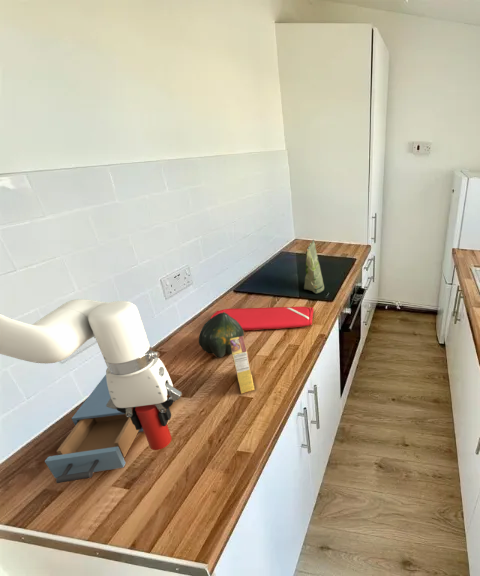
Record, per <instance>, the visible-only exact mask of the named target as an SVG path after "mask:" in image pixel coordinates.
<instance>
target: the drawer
mask: <svg viewBox="0 0 480 576" xmlns="http://www.w3.org/2000/svg"><path fill="white" fill-rule="evenodd" d="M138 431H139V430H136V428H135V425H133V423H132V421H131V418H130V417H127V416H126V414H121V415H113V416H105V417H97V418H89V419H81V420H79V422H78V423H77V424H76V426H75V425H74V427H73V428H72V429H71V431H70V432H69V434H68V435H67V436H66V438H64V440H63V442H62V443H61V445H60V446H59V447H58V448H57V449H56V453H57V454H56V455H50V456H48V457H47V458H46V459H45V460H44V463H45V464H46V466H47V468H48V469H49V471H50V473H51V474H52V476H53V477H54V479H55V483H56V484H63V483H68V482H69V483H70V482H75V481H82V480H87V479H91V478H92V477H93V476H94V473H97V472H104V471H110V470H111V471H112V470H118V469H122V468H125V465H126V460H125V457H126V456H127V455H128V453H129V450H130V448H131V446H132V445H133V444H134V443H133V442H134V441H135V439H136V437H137V435H138V433H139V432H138Z"/></svg>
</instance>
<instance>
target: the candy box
mask: <svg viewBox="0 0 480 576" xmlns="http://www.w3.org/2000/svg"><path fill="white" fill-rule="evenodd" d="M230 345H231V351H232V354H231V355H232V360H233V366H234V370H235V373H236V378H237V382H238V386H239V387H238V388H239V389H240V390H239V391H240V394H241V395H242V394H245V393H248V392H251V391H255V385H254V379H253V375H252V370H251V365H250V359H249V354H248V349H247V346H246V343H245V339H244V338H243V336H240V337H236V338H231V339H230Z"/></svg>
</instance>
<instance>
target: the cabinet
mask: <svg viewBox="0 0 480 576" xmlns="http://www.w3.org/2000/svg"><path fill="white" fill-rule="evenodd" d="M110 398H111V396H110V394H109V390H108V386H107V379H106V374H105V375H104V376H103V377H102V378H101V380H100V381H99V382H98V384H97V385H96V386H95V388H93V390H92V392H90V394H89V395H88V396H87V397H86V399H85V401H83V403H82V404H81V405H80V407H79V408H78V409H77V410H76V412H75V413H74V415H73V416H72V417H71V420H72V422H73V425H74V427H75V426H76V424H77V423H78V422H79V420H81V419H89V418H97V417H105V416H113V415H121V414H125V413H122V412H120V411H118V410H117V409H112V408H109V407H107V406H106V405H107V403H108V401H109V400H110ZM142 432H144V431H143V428H142V427H141V429H140V430H139V431H138V433H142Z"/></svg>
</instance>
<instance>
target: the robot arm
mask: <svg viewBox="0 0 480 576" xmlns="http://www.w3.org/2000/svg"><path fill="white" fill-rule="evenodd" d="M144 326H145V325H144V324H143V321H142V317H141V315H140V311H139V309H138V306H137V305H136V304H134V303H133V302H131V301H128V300H116V301H110V302H107V301H102V300H101V301H100V300H93V299H87V298H76V299H71V300H69V301H66V302H65V303H62V305H60V306H58V307H56V308H55V309H53V310H52V311H50V312H49V313H46V315H44V316H43V317H41V318H40V319H38V320H37V321H36V322H34V323H32V324H31V323H27V322H24V321H20V320H17V319H13V318H10V317H8V316H6V315H3V314H2V313H0V355H1V356H3V355H4V356H6V357H9V358H10V357H11V358H14V359H17V360H21V361H25V362H29V363H35V364H45V365H46V364H56V363H58V362H62V361H64V360H66V359H68V358H69V357H70V356H72V355H73V354H74V353H75V352H76V351H78V349H80V348H81V347H82V346H83V345H84V344H85V343H86V342H88V340H90V339H93V338H95V341H96V343H97V345H98V348H99V350H100V353H101V355H102V357H103V360H104V363H105V365H106V369H105V375H106V379H107V386H108V390H109V394H110V396H111V398H110V400H109V401H108V403H107V405H106V406H107V407H109V408H112V409H117V410H118V411H120V412H122V413H125V414H126V416H127V417H130V418H131V421H132V423H133V425H135V428H136V430H140V429H141V427H142V426H141V423H140V421H139V418H138V416H137V413H136V410H135V408H136V407H137V406H145V405H152V404H155V406H156V407H157V409H158V410H159V413H158V416H159V419H160V422H161V425H162V426H166V425H168V422H169V421H170V420H171V418H172V413H171V409H170V407H171V406H173V404H174V403H176V402H177V401H178V400H180V399H181V398H182V395H183V393H182V391H180V390H179V389H177V388H175V387H174V384H173V381H172V379H171V377H170V374H169V372H168V370H167V368H166V366H165V364H164V362H163V361H162V360H161V359H160V355H161V354H160V351H155V350H153V348H152V346H151V344H150V342H149V339H148V335H147V333H146V329H145V327H144ZM168 395H169V396H168Z"/></svg>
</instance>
